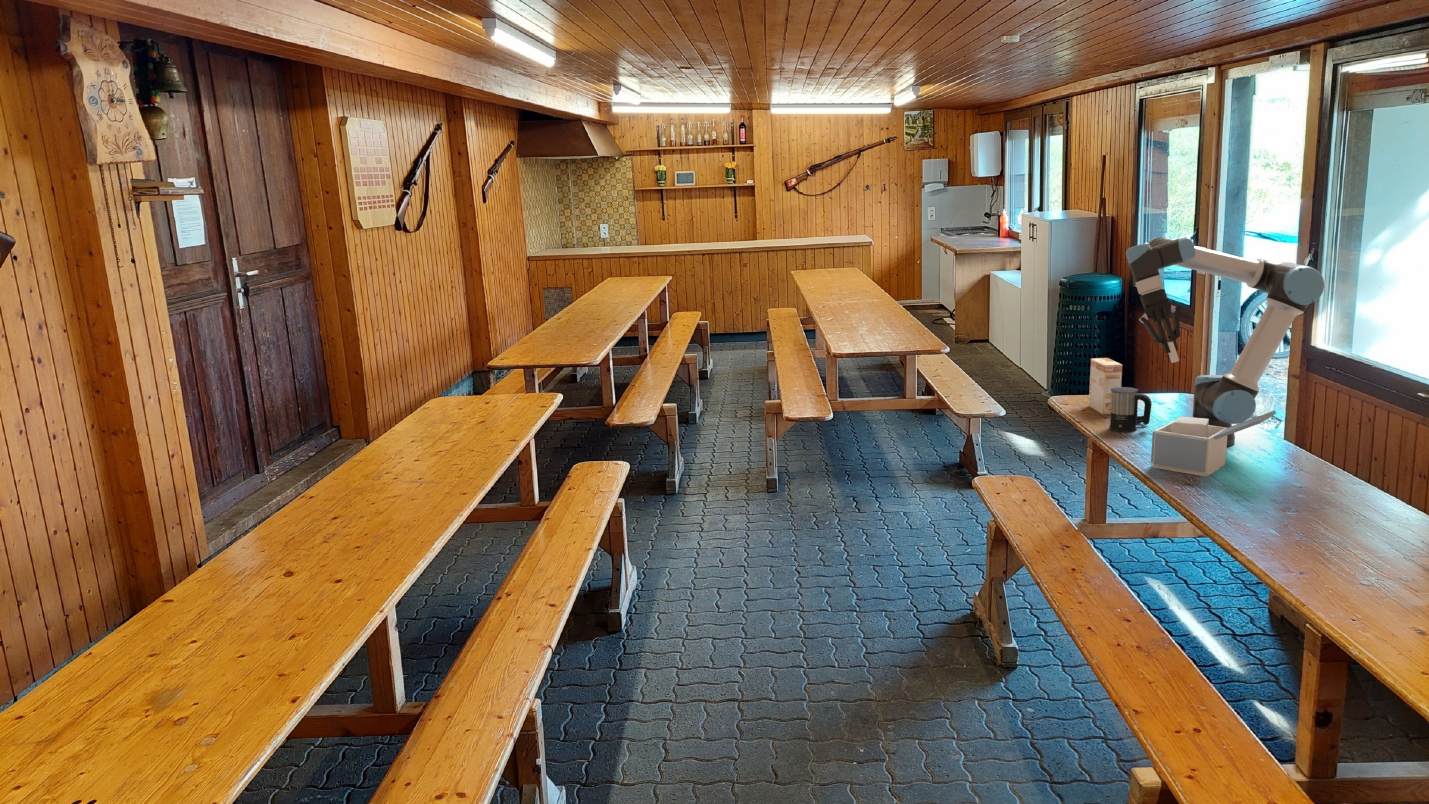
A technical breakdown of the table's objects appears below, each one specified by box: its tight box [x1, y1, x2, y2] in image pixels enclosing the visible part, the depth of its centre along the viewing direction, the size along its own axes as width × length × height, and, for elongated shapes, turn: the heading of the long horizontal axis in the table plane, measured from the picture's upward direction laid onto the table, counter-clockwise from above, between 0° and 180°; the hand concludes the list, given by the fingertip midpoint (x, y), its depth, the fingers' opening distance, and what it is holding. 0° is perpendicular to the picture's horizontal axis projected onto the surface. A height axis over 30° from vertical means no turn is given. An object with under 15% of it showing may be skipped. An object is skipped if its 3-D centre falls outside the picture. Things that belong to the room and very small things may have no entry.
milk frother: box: [1109, 386, 1153, 433], centre depth 358 cm, size 14×16×15 cm
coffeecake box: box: [1088, 357, 1123, 415], centre depth 384 cm, size 15×7×20 cm, turn 179°
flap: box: [1214, 410, 1277, 440], centre depth 298 cm, size 1×15×14 cm
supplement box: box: [1174, 416, 1209, 438], centre depth 310 cm, size 9×9×15 cm
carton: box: [1150, 420, 1228, 477], centre depth 311 cm, size 17×18×12 cm
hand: (1175, 361), depth 313 cm, fingers closed
